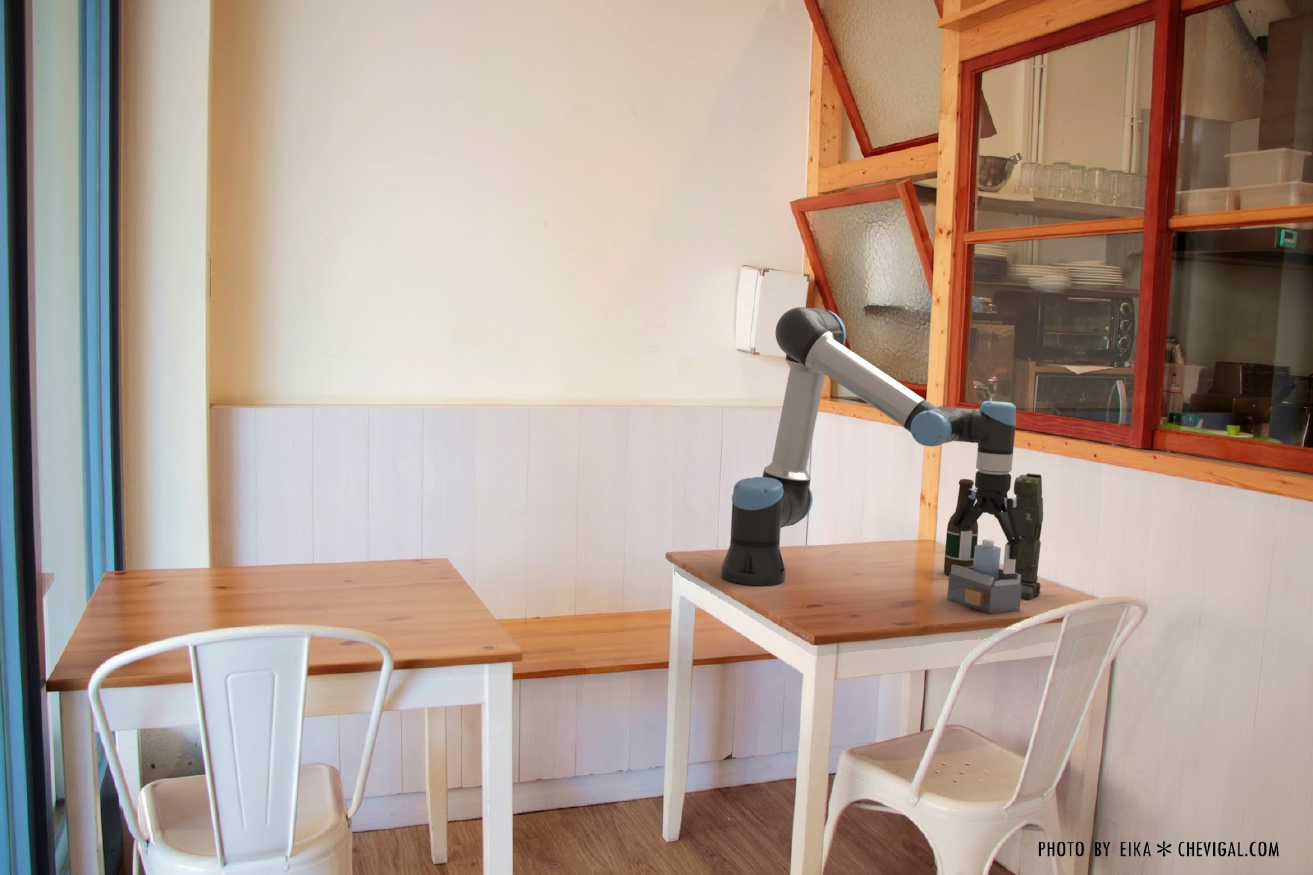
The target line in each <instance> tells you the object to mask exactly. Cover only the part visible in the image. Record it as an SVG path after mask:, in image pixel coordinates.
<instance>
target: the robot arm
mask: <svg viewBox="0 0 1313 875" xmlns="http://www.w3.org/2000/svg"><path fill="white" fill-rule="evenodd" d="M846 339H847V330H846V326H845V324H844V322H843V320H842V319H841V317H839V316H838V314H837V313H835V312H833V311H831V310H829V309H824V308H819V307H804V306H803V307H800V306H799V307H794V308H791V309H789V310H787V311H786V312H785V313H783V314H782V315H781V316H780V318H779V320H778V321H777V323H776V326H775V340H776V343H777V345H778V346H779V348H780V349H781V351H782V352H784V354H786V355H785V362H786V363H787V365H788V368H789V373H788V378H787V383H786V388H785V392H784V398H783V405H782V408H781V413H780V419H779V423H778V428H777V434H776V438H775V439H776V440H775V442H774V443H775V444H774V448H773V449H774V450H773V455H772V459H771V462H770V464H768V465H767V466H765V467H764V468H763V473H762V476H756V477H755V476H754V477H747V478H741V479H740V480H738V481H737V482H735V483H734V486H733V491H732V495H731V523H730V524H731V525H730V541H729V547H728V550H727V551H726V555H725V558H724V560H723V563H722V566H721V571H720V572H721V574H720V576H721V578H722V579H723V580H726V581H728V582H731V583H734V584H740V585H747V586H775V585H779V584H782V583H784V582H785V580H786V569H785V564H784V560H783V557H782V552H781V548H780V543H781V529H783V528H784V527H785V528H786V527H790V526H793V525H796V524H797V523H799V522H800V521H802V520H803V519H804V518H805V517H806V516H807V515H808V514H809V512H810V511H811V508H812V505H813V493H812V490H811V489H810V483H811V478H812V477H811V476H810V474H809V473H808V471H807V466H808V461H809V457H810V452H811V447H812V443H813V439H814V438H813V436H814V432H815V428H816V423H817V422H816V421H817V416H818V412H819V408H820V403H821V398H822V392H823V387H824V382H825V378H826V376H827V377H829V378H830V379H832V380H833V381H835V382H836V383H837V384H839V385H840V386H841V387H843V388H844V389H847V390H848V391H849V392H850V393H852V394H853V395H855V396H857V397H858V398H860V400H862V401H864V402H865V403H867V404H868V405H870V406H871V407H872V408H874V409H876V411H879V412H881V414H883V415H884V416H885V417H887V418H890V420H892V421H893V422H894V423H896V424H898V425H899V426H900V427H903V428H904V429H905V430H906V431H908V432H909V433H911V436H912V438H913V440H914V441H915V442H916V443H918V444H919V445H921V446H924V447H937V446H941V445H943V444H946V443H950V442H961V443H962V442H963V443H970V444H977V454H976V461H975V462H976V463H975V468H976V469H977V471H976V472H975V476H974V477H975V478H974V487H975V488H972V489H966V492H965V498H964V500H963V502H962V504H961V506H960V509H959V511H958V513H957V515H956V517H955V519H954V521H953V525H954V526H957V527H958V529H959V544H960V551H959V560H968V559H970V555H971V542H972V531H968V530H971V527H972V526H973V524H974V523H975V522H976V521H977V522H978V519H979V518H980V517H981V516H982V515H983V514H985V513H987V514H989V515H991V516H994V518H996V519H997V521H998V524H999V525H1000V527H1001V529H1002V532H1003V534H1004V537H1005V539H1006V540H1007V542H1006V543H1005V544H1004V555H1003V567H1002V569H1003V573H1004V574H1011V573H1015V563H1016V559H1017V558H1018V551H1019V545H1020V544H1021V543H1027V541H1028V540H1027V536H1026V532H1025V529H1024V525H1023V521H1022V518H1021V514H1020V510H1019V499H1018V498H1016V497H1011V498H1010V497H1008V492H1009V491H1011V484H1012V475H1011V474H1010V473H1011V472H1012V470H1013V469H1012V468H1013V457H1014V445H1015V436H1016V426H1017V418H1016V417H1017V406H1016V405H1015V404H1014V403H1012V402H1007V401H993V400H984V401H983V402H981V403H980V404H981V405H980V407H979V408H964V407H955V406H946V405H934V404H932V403H931V402H930V401H927V400H926V399H925V398H924V397H922V396H920V395H919V394H917V393H915V391H912V390H911V389H909V388H908V387H907V386H905V385H903V384H902V383H901V382H900V381H897V380H896V379H895V378H894V377H891V376H890V375H889V374H887V373H886V372H884V371H882V370H881V369H880V368H878V367H876V366H875V365H874V364H872V363H870V362H869V361H867V360H866V359H864V358H863V357H861V356H860V355H858V354H857V353H855V352H853V351H852V350H850V349H849V348H848V347H846V346H845V343H846ZM1020 537H1021V538H1020Z"/></svg>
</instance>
